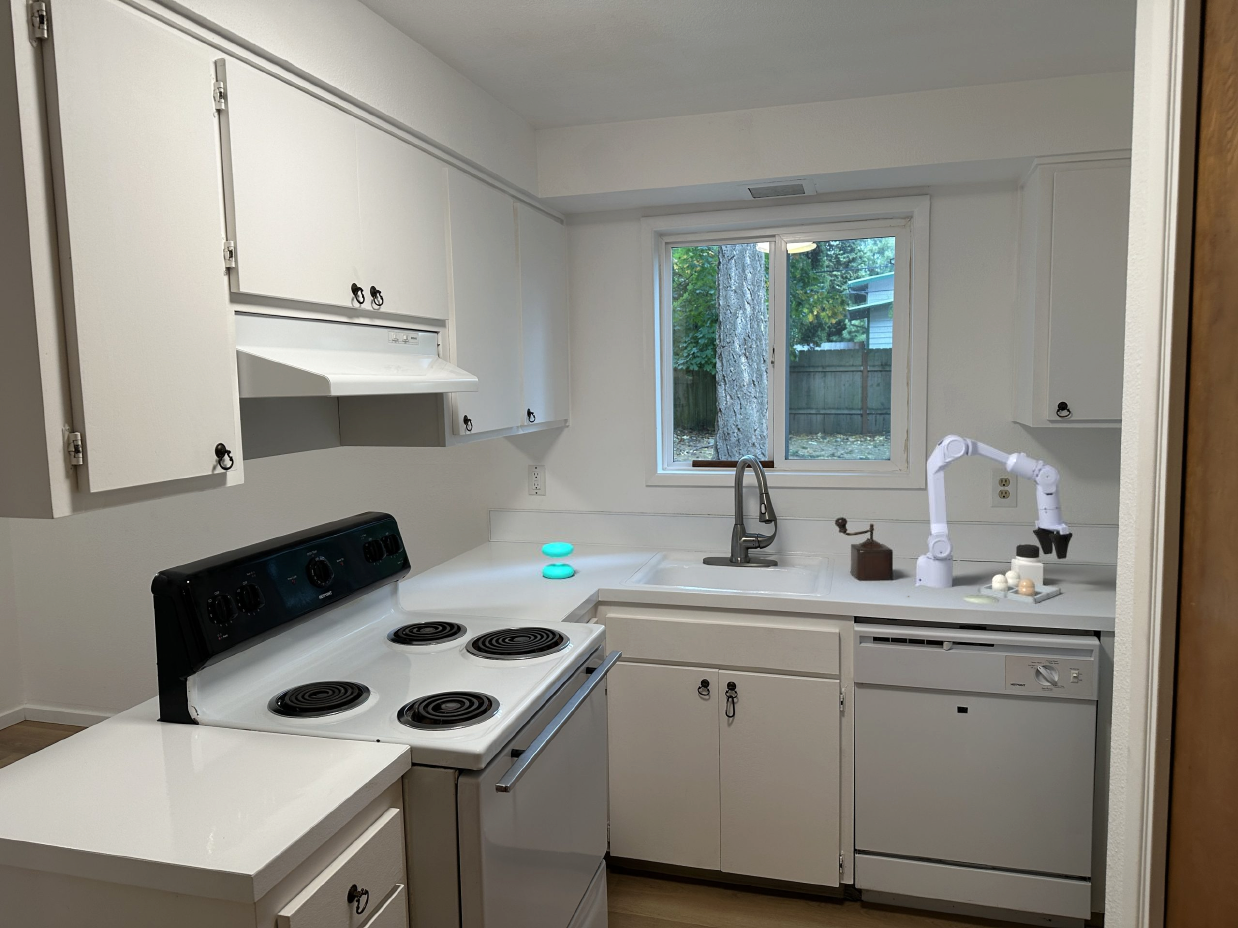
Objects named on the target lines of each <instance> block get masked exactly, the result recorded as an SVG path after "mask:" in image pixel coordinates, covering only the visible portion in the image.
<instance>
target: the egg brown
mask: <svg viewBox="0 0 1238 928" xmlns="http://www.w3.org/2000/svg"><path fill="white" fill-rule="evenodd" d="M1018 594H1019V595H1024V596H1030V597H1035V584H1034V582H1033V581H1032V580H1030V579H1023V580H1021V581H1020V582H1019V588H1018Z"/></svg>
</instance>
